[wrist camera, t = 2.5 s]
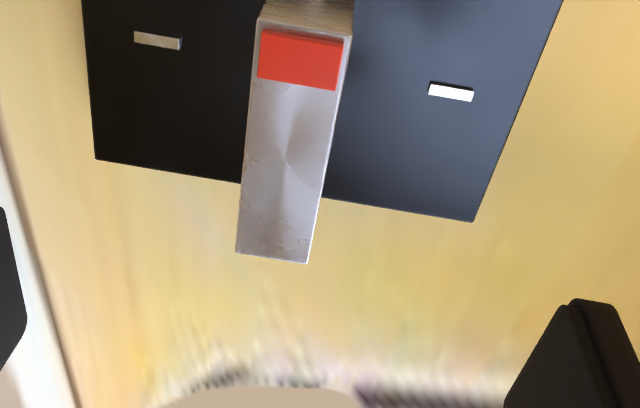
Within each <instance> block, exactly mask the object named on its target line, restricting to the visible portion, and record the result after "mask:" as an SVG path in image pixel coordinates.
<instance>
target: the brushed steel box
mask: <svg viewBox="0 0 640 408" xmlns="http://www.w3.org/2000/svg"><path fill="white" fill-rule="evenodd" d="M354 7H355V0H265V2H264V4H263V7H262V9H261V11H260V13H259V15H258V18H257V21H256V32H255V42H254V53H253V64H252V74H251V85H250V96H249V106H248V117H247V128H246V138H245V149H244V160H243V170H242V181H241V191H240V202H239V213H238V223H237V234H236V245H235V252H236V253H240V254H246V255H253V256H259V257H265V258H271V259H277V260H283V261H289V262H295V263H302V264H307V263H308V260H309V255H310V250H311V245H312V240H313V235H314V230H315V225H316V220H317V215H318V210H319V204H320V199H321V194H322V189H323V184H324V179H325V174H326V169H327V164H328V159H329V154H330V149H331V144H332V139H333V134H334V129H335V124H336V119H337V114H338V109H339V104H340V99H341V94H342V89H343V83H344V78H345V73H346V68H347V63H348V58H349V53H350V48H351V43H352V38H353V24H354Z"/></svg>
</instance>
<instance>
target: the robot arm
mask: <svg viewBox="0 0 640 408" xmlns="http://www.w3.org/2000/svg"><path fill="white" fill-rule="evenodd" d="M26 324H27V313H26V308H25V304H24V299H23V294H22V289H21V285H20V280H19V275H18V271H17V266H16V261H15V257H14V252H13V247H12V243H11V238H10V233H9V229H8V224H7V219H6V215H5V211H4V209H3V208H2V207H0V371H1V369H2V368H3V366H4V364H5V363H6V361H7V360H8V358H9V357H10V355H11V353H12V352H13V350H14V349H15V347H16V346H17V344H18V342H19V341H20V339H21V338H22V336H23V334H24V331H25V329H26ZM503 408H640V362H639V360H638V358H637V356H636V353H635V351H634V349H633V347H632V344H631V342H630V340H629V338H628V335H627V333H626V331H625V329H624V326H623V324H622V322H621V319H620V317H619V315H618V313H617V311H616V309H615V308H614V306H612V305H611V304H607V303H601V302H596V301H590V300H584V299H577V298H575V299H573V300H572V301H571V302H570V303H569V304H568V305H561V306H560V307H559V308H558V309H557V311H556V312H555V314H554V316H553V318H552V319H551V321H550V323H549V324H548V326H547V328H546V329H545V331H544V333H543V335H542V336H541V338H540V340H539V341H538V343H537V345H536V347H535V348H534V350H533V352H532V353H531V355H530V357H529V358H528V360H527V362H526V364H525V365H524V367H523V369H522V370H521V372H520V374H519V375H518V377H517V379H516V381H515V382H514V384H513V386H512V387H511V389H510V391H509V392H508V394H507V396H506V398H505V401H504V406H503Z"/></svg>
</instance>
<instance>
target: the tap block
mask: <svg viewBox="0 0 640 408" xmlns="http://www.w3.org/2000/svg"><path fill="white" fill-rule="evenodd" d="M563 1H564V0H355V7H354V24H353V38H352V43H351V48H350V53H349V58H348V63H347V68H346V73H345V78H344V83H343V89H342V94H341V99H340V104H339V109H338V114H337V119H336V124H335V129H334V134H333V139H332V144H331V149H330V154H329V159H328V164H327V169H326V174H325V179H324V184H323V189H322V194H321V197H322V198H328V199H334V200H340V201H346V202H352V203H357V204H363V205H369V206H375V207H381V208H387V209H393V210H399V211H405V212H411V213H417V214H423V215H429V216H435V217H441V218H447V219H453V220H459V221H464V222H470V223H472V222H473V221H474V219H475V216H476V214H477V212H478V209H479V207H480V204H481V202H482V199H483V197H484V194H485V192H486V189H487V187H488V185H489V182H490V180H491V177H492V175H493V172H494V170H495V167H496V165H497V162H498V160H499V158H500V155H501V153H502V150H503V148H504V145H505V143H506V140H507V138H508V135H509V133H510V131H511V128H512V126H513V123H514V121H515V118H516V116H517V113H518V111H519V108H520V106H521V104H522V101H523V99H524V96H525V94H526V91H527V89H528V86H529V84H530V82H531V79H532V77H533V74H534V72H535V69H536V67H537V64H538V62H539V59H540V57H541V55H542V52H543V50H544V47H545V45H546V42H547V40H548V37H549V35H550V32H551V30H552V28H553V25H554V23H555V20H556V18H557V15H558V13H559V10H560V8H561V5H562V3H563ZM264 2H265V0H81V4H82V16H83V27H84V38H85V50H86V61H87V72H88V84H89V95H90V106H91V118H92V129H93V140H94V152H95V159H97V160H102V161H108V162H114V163H120V164H126V165H132V166H137V167H143V168H149V169H155V170H161V171H167V172H173V173H179V174H185V175H191V176H197V177H203V178H209V179H215V180H221V181H227V182H233V183H239V184H241V181H242V170H243V160H244V149H245V138H246V128H247V117H248V106H249V96H250V85H251V74H252V64H253V53H254V42H255V32H256V21H257V18H258V15H259V13H260V11H261V9H262V7H263V4H264Z"/></svg>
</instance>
